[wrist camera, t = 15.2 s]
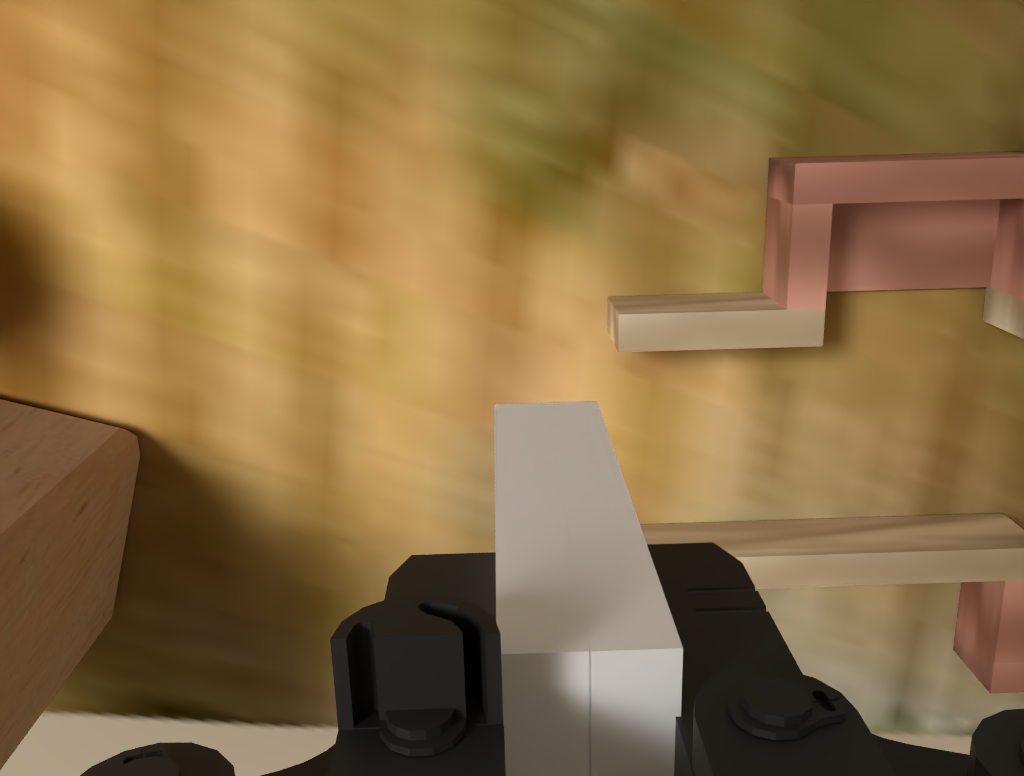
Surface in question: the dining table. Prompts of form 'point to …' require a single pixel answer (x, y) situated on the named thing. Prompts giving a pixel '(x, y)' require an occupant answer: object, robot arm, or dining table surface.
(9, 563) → the wooden block
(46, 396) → the dining table surface
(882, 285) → the trap lane box
